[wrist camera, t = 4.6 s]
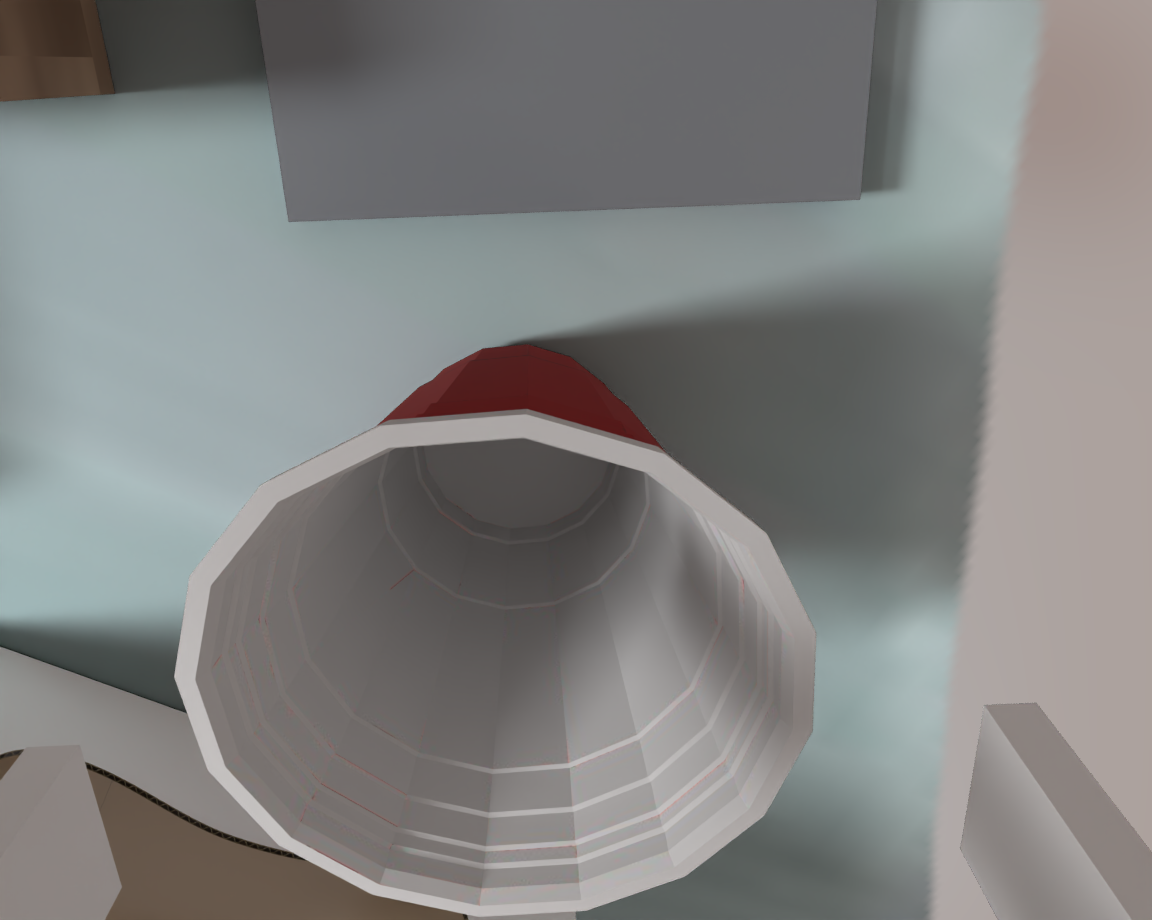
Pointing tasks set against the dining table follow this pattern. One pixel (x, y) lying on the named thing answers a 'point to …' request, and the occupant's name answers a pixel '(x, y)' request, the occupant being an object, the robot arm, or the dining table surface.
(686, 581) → the plastic cup
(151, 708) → the gable box
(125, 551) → the dining table surface
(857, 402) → the dining table surface
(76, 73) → the walnut box
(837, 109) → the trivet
